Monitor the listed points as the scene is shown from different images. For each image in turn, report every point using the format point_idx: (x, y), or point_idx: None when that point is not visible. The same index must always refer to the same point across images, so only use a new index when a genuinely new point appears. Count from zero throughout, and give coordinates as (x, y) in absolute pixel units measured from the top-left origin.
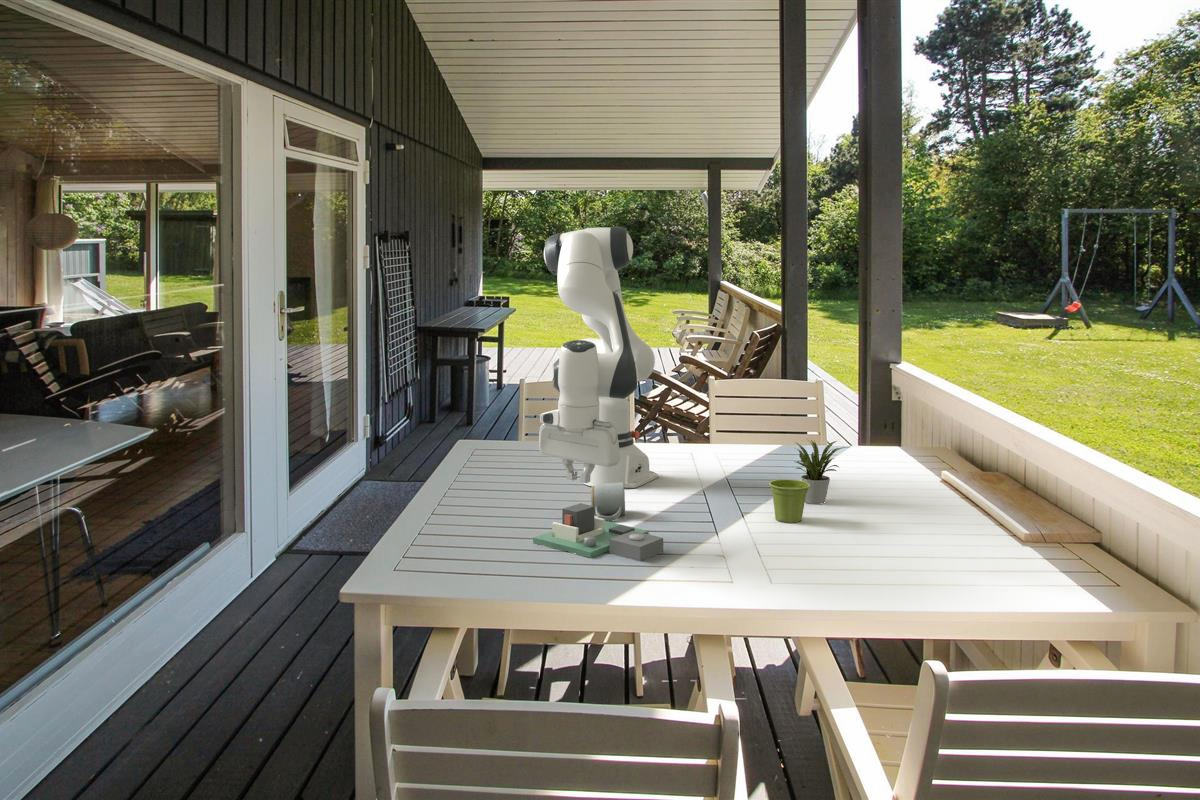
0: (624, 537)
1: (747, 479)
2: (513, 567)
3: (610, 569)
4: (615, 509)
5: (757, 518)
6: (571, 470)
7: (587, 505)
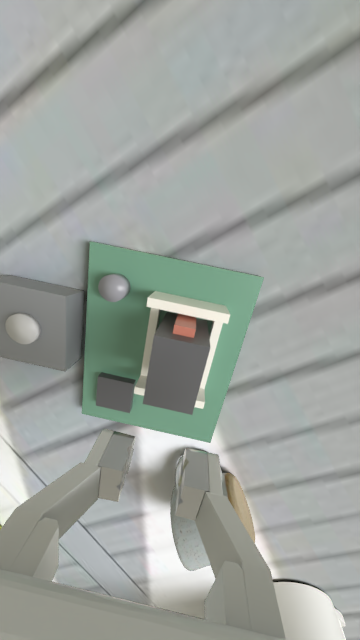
0: (49, 323)
1: None
2: (211, 58)
3: (18, 194)
4: None
5: None
6: (202, 513)
7: (163, 403)
